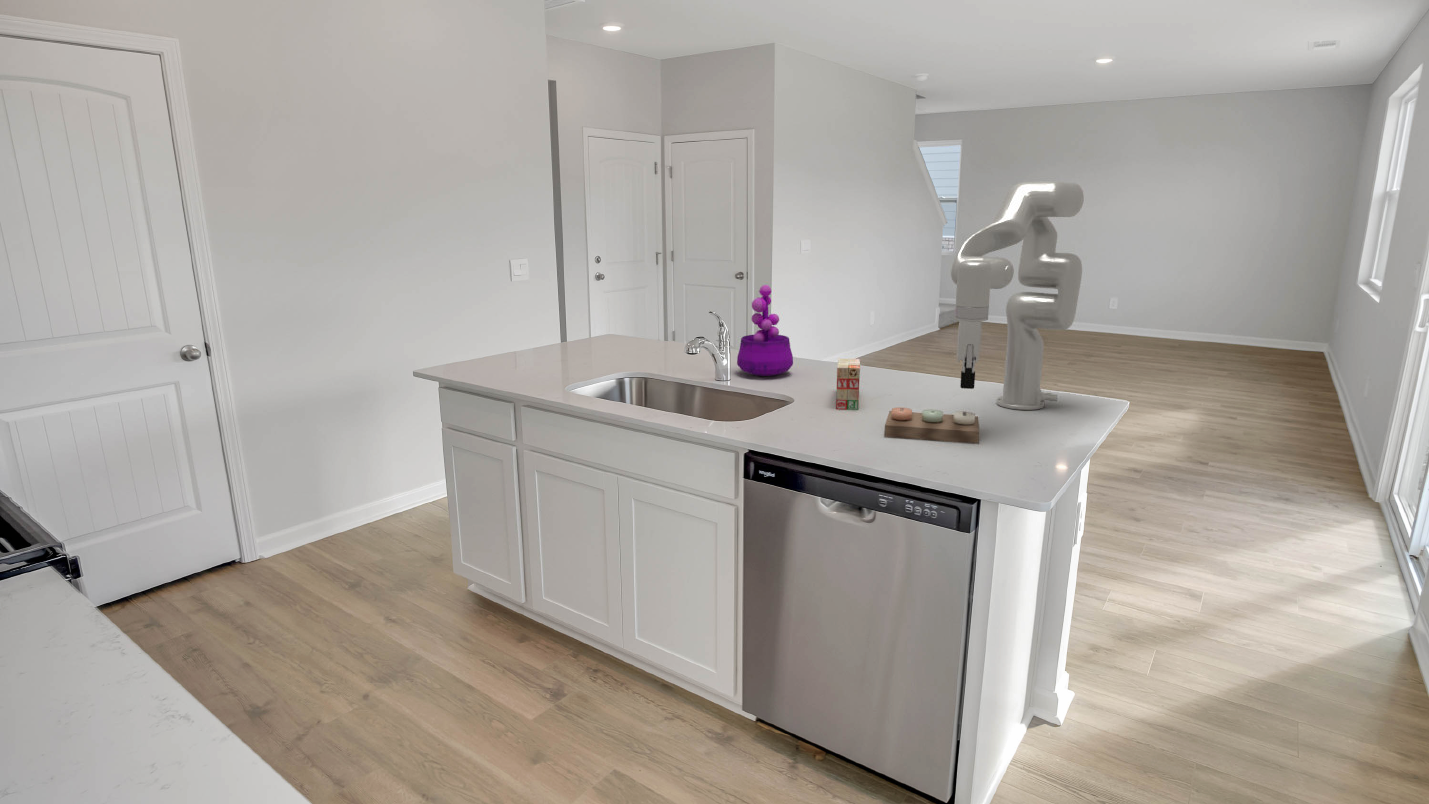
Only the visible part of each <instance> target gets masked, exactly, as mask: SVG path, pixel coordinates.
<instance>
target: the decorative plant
mask: <svg viewBox="0 0 1429 804" xmlns="http://www.w3.org/2000/svg"><path fill="white" fill-rule="evenodd" d="M758 292H759V294H760V295H761V297H756V298H754V299H753V300H752V302H751V308H752V310H753V311H754V312H755V313H753V314H752V315H751V321H752V323H753V324H754V325H757V327H758V328H759V330H757V331H756V332H755V333H754V334H748V335H744V336H742V337H741V338H740V345H739V349H738V354H737V360H736V365H737V366H738V367H739V369H740V370H741V371H743V372H745V373H747V374H750V375H753V376H759V377H760V376H761V377H770V376H778V375H779V374H783V373H786V372H788V371H789V370H790V369H791V368H792V367H793V365H794V355H793V352H792V349H791V343H790V338H789V336H787V335H782V334H780V330H779V328H778V327H776V325H778V324H779V321H780V316H779V315H778V314H776V313H770V314H769V305H770V304H771V303H772V299H771V297H770V295H771V294H772V290H771V287H770V285H767V284H764V285H762V286H760V288H759V290H758Z"/></svg>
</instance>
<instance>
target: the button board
mask: <svg viewBox="0 0 1429 804" xmlns="http://www.w3.org/2000/svg"><path fill="white" fill-rule="evenodd" d="M891 414H892V410H889V412H888V415H887V418H886V421H885V423H884V435H883V436H884V438H894V439H907V440H908V439H909V440H910V439H911V440H922V441H934V442H936V441H937V442H952V443H963V444H964V443H965V444H975V443H978V444H979V442H980V423H979V416H976V415H975V423H974V424H969V425H964V424H958V423H955V422H953V418H954V414H944V413H943V421H942V422H926V421H923V420H922V412H914V411H912V419H910V420H896V419H893V418H891Z"/></svg>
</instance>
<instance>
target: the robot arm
mask: <svg viewBox="0 0 1429 804" xmlns="http://www.w3.org/2000/svg"><path fill="white" fill-rule="evenodd" d="M1084 198H1085V197H1084V191H1083V189H1082V187H1081V186H1080V185H1079V184H1078V183H1076V182H1075V183H1074V182H1064V181H1055V180H1053V181H1051V180H1050V181H1047V180H1046V181H1023V182H1019V183H1016V184H1015V185H1013V186H1012V187H1011V188H1010V189H1009V190H1008V191H1007V193H1006V195H1005V196H1004V199H1003V202H1002V204H1001V206H1000V208H999V209H998V212H997V213H996V215H995V217H994V219H993V221H992V223H990V224H987V225H986V226H984V227H983V228H981V229H980V230H978V231H977V232H974V233H973V235H970V236H969V237H968V238H967V239H966V240H965V241H963V243H962V245H961V247H960V248H959V250H958V251H957V253H956V256H955V258H954V261H953V263H952V265H951V270H950V277H951V280H952V282H953V283H954V284H955V285H956V293H955V308H954V309H955V310H954V311H955V312H954V319H955V320H956V321H959V323H958V328H957V330H958V331H957V342H956V343H957V346H956V347H957V349H956V361H957V362H958V363H960V362H961V361H962V368H961V369H962V370H961V371H960V385H959V386H960V388H961V389H964V390H965V389H970V390H972V389H973V390H974V388H975V381H976V371H975V366H976V365H975V363H977V362H979V358H980V351H981V342H982V332H983V322H985V321H988V320H989V310H990V309H989V308H990V293H991V290H1000V289H1004V288H1006V287H1007V286H1009V284H1010V283H1011V282H1012V280H1013V278H1014V266H1013V264H1012V262H1011V261H1010V260H1009V259H1007V258H1005V257H998V256H997V257H996V256H985V255H988V254H990V253H992V252H996V251H999V250H1002V249H1006V248H1008V247H1012V246H1014V245H1017V244H1019V243H1021V242H1022V246H1021V251H1020V252H1021V253H1020V258H1019V265H1018V271H1017V274H1018V276H1017V279H1018V282H1019V284H1021V285H1022V286H1024V287H1028V288H1038V289H1050V290H1051V289H1053V290H1057V293H1048V292H1047V293H1046V292H1045V293H1044V292H1036V291H1035V292H1032V291H1022V292H1021V291H1020V292H1017V293H1015V294H1012V295H1011V296H1010V297H1009V298H1008V300H1007V301H1006V307H1005V311H1006V312H1005V314H1006V324H1007V338H1006V339H1007V340H1006V341H1007V343H1006V353H1005V366H1004V377H1003V387H1002V388H1003V389H1002V395H1001V396H999V397H997V398H996V404H997V405H998V406H999V407H1003V408H1006V409H1012V410H1021V411H1036V410H1040V409H1043V408H1044V407H1045V401H1050V402H1057V401H1058V393H1057V394H1055V393H1054V394H1053V393H1051V392H1043V391H1042V389H1041V378H1042V369H1043V368H1042V367H1043V359H1044V358H1043V356H1044V350H1045V349H1044V347H1045V345H1044V340H1043V337H1042V335H1041V334H1040V333H1039V329H1043V330H1054V331H1065V330H1068V329H1069V328H1071V327H1072V325H1073V323H1074V321H1075V317H1076V311H1077V306H1078V302H1079V301H1078V300H1079V295H1080V289H1081V283H1082V275H1083V264H1082V260H1081V258H1080V257H1079V256H1078V255H1076V254H1074V253H1068V252H1056V248H1057V243H1058V231H1057V229H1056V228H1055V226H1054V224H1053V223H1052V222H1051V220H1050V219H1049V218H1072V217H1075V216H1076V215H1077V214H1079V212H1081V209H1082V207H1083V204H1084Z"/></svg>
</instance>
